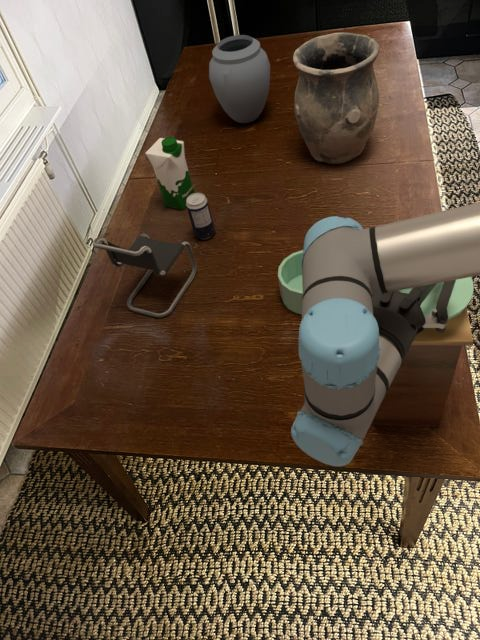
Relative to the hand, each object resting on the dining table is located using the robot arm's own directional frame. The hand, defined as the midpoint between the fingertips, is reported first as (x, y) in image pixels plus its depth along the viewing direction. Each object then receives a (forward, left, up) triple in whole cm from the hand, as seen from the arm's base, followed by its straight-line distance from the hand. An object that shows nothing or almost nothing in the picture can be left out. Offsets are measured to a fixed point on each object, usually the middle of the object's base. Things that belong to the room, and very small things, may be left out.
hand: (438, 229), depth 76 cm
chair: (+25, +58, -39) cm, 74 cm away
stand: (-5, +2, -39) cm, 39 cm away
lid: (-5, +2, -6) cm, 8 cm away
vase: (+103, +45, -39) cm, 119 cm away
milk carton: (+60, +60, -39) cm, 93 cm away
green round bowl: (+23, +21, -39) cm, 50 cm away
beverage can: (+45, +50, -39) cm, 78 cm away
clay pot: (+80, +15, -39) cm, 90 cm away
